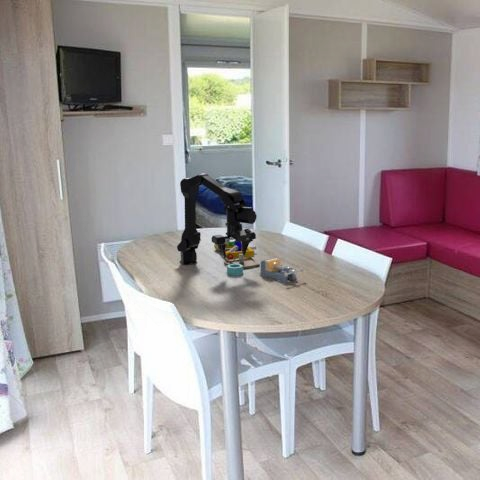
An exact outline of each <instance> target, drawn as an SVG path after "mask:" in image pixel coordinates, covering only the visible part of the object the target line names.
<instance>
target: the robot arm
mask: <svg viewBox="0 0 480 480" xmlns="http://www.w3.org/2000/svg"><path fill="white" fill-rule="evenodd" d="M179 186H180V192H181V194H182V196H183V197H184V229H183V231H182V233H181V239H180V242H179V243H178V244H177V246H176V249H177V251H178V252H180V260H179V263H181V264H182V265H184V266H185V265H187V266H189V265H192V264H197V263H198V261H197V259H198V258H197V256H198V255H197V252H196V250H197V249H199V244H200V243H201V241H202V240H201V232H200V231H198V230H197V222H196V221H197V219H196V217H197V216H196V215H197V213H196V212H197V209H196V208H197V207H196V206H197V205H196V203H197V202H196V200H197V198H196V197H197V196H198V194H199V192H200V186H204V187H205V188H206V189H208V190H209V191H211V192H212V193H214V194H215V195H217V196H218V197H219V199H220V201H221V202H222V203H223V204H224V207H223V208H222V209H221V210H222V211H226V222H225V226H226V232H225V236H224V235H222V234H215V235H212V236H211V243H213V244H214V245H215V244H216V245H218V247H219V249H220V253H221V254H222V257H223V258H224V259H225V260H227V259H226V251H227V250H226V249H225V246H226V244H225V242H226V241H227V240H229V241H235V240H236V242H242V253H243V255H245V253H246V250H247V247H249V244H251V243H252V242H254V240H256V239H257V235H256V232H254V231H252V230H251V229H250V228H243V225H242V224H249V225H253V224H255V223H256V221H257V213H256V211H255V209H254V207H251V206H250V207H248V205H247V203H246V201H245V200H244V197H243V196H242V193H241V192H240V191H238V190H236V189H234V188H229V187H226V186H225V185H223V184H222V183H220V182H219V181H217V180H216V179H214V178H212V177H211V176H210V175H209V174H208V173H199V174H197V175H195V176H192V177H187V178H182V179H181V181H180V183H179Z"/></svg>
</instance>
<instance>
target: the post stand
mask: <svg viewBox="0 0 480 480" xmlns="http://www.w3.org/2000/svg"><path fill="white" fill-rule="evenodd" d="M229 264H241V265H243V270H246V269H247V270H248V269H251V268H253V269H254V268H258V267H261V263H258V262H257V261H254V260H252V259H250V258H244V255H243V254H239V258H238V259H232V260H227V261H223V265H224V266H226V267H227V266H228V265H229Z"/></svg>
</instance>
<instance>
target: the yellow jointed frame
mask: <svg viewBox="0 0 480 480" xmlns="http://www.w3.org/2000/svg"><path fill="white" fill-rule="evenodd" d="M225 244H226V246H225V250H226V249H227V250H226V259H225V260H227V261H233V260H239V254H243V253H242V241H241V242H236V240H235V239H234V240H227V241H226V242H225ZM213 247H214V249H215V251H220V249H219V247H218V245H216V244H215V243H214V245H213ZM228 249H229V250H228ZM255 250H257V246H248V247H247V250H246V253H245V255H244V259H245V258H248V259H250V258H255ZM220 252H221V251H220Z"/></svg>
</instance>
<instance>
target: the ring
mask: <svg viewBox="0 0 480 480" xmlns="http://www.w3.org/2000/svg"><path fill="white" fill-rule="evenodd" d="M243 273H244V269H243V265H241V264H229V265H228V266H227V265H226V274H228V275H229V276H240V275H242V274H243Z"/></svg>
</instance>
